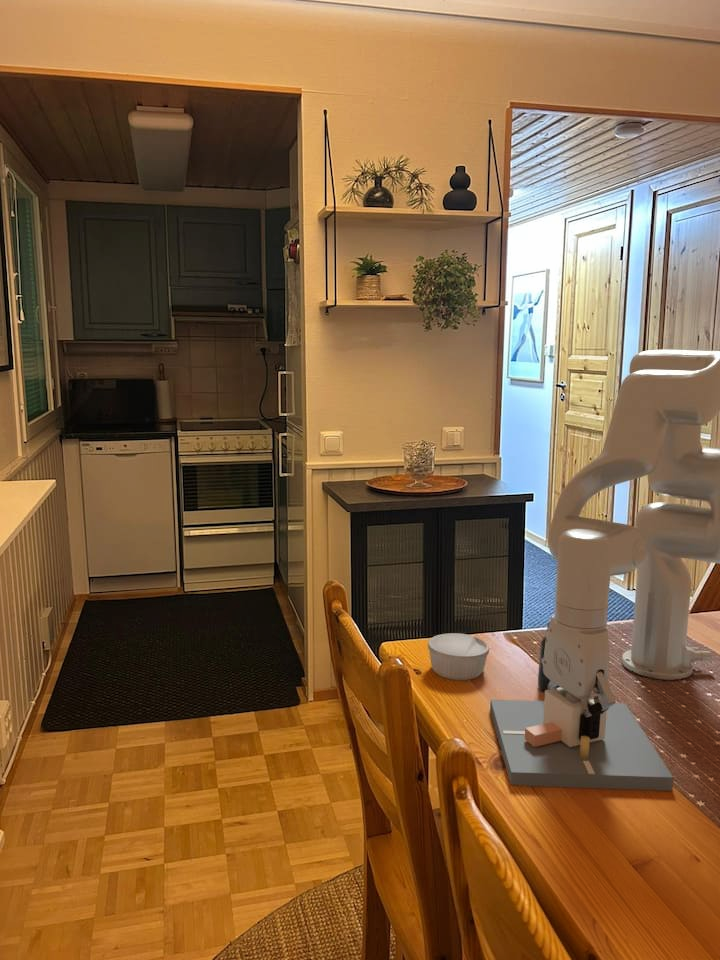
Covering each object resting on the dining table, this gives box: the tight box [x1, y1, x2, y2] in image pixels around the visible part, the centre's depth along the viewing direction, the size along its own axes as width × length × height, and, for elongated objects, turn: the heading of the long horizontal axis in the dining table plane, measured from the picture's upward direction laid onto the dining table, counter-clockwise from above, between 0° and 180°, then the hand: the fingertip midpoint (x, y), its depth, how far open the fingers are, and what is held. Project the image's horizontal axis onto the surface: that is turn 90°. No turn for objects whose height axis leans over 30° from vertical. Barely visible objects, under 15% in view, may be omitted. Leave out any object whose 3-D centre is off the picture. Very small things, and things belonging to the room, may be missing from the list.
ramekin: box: [427, 632, 490, 681], centre depth 143 cm, size 11×11×5 cm
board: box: [489, 691, 674, 792], centre depth 116 cm, size 22×22×9 cm
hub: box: [525, 687, 607, 747], centre depth 115 cm, size 11×6×6 cm, turn 114°
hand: (573, 726), depth 116 cm, fingers closed on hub, 6 cm apart
